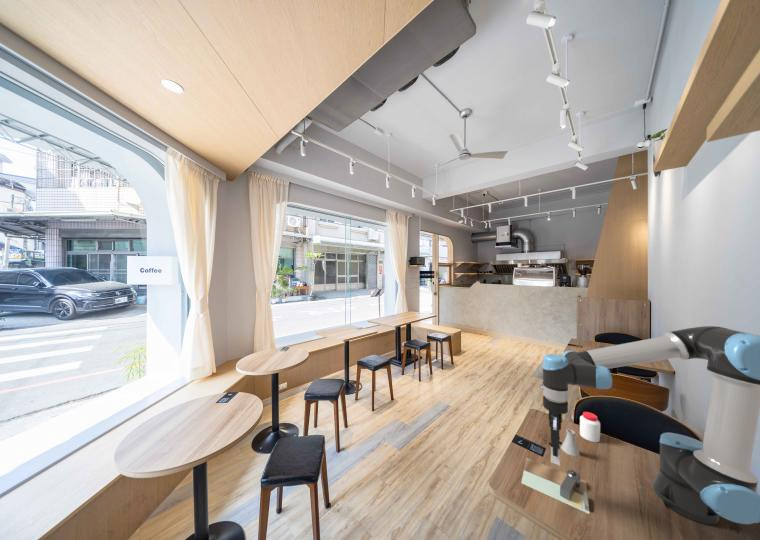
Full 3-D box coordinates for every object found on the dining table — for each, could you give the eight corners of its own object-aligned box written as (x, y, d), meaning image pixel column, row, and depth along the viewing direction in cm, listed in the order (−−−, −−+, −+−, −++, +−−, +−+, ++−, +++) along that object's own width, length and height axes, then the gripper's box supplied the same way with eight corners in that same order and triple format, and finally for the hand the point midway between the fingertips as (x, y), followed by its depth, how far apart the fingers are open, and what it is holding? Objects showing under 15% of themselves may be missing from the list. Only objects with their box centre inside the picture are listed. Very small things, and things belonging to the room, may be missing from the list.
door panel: (587, 500, 90) (587, 492, 90) (589, 517, 84) (589, 509, 84) (523, 472, 102) (523, 466, 102) (521, 486, 95) (521, 478, 95)
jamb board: (585, 484, 97) (586, 481, 97) (587, 499, 90) (587, 496, 90) (526, 460, 108) (526, 457, 108) (523, 472, 102) (523, 469, 102)
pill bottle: (581, 429, 130) (582, 408, 130) (601, 437, 124) (601, 415, 124) (577, 436, 125) (578, 414, 125) (598, 444, 119) (598, 421, 119)
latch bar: (568, 476, 99) (568, 466, 99) (581, 483, 96) (581, 472, 95) (557, 493, 91) (558, 482, 91) (571, 502, 88) (571, 490, 88)
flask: (584, 460, 109) (584, 437, 109) (565, 458, 110) (565, 435, 110) (574, 449, 116) (575, 427, 116) (557, 446, 117) (557, 425, 117)
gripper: (544, 388, 99) (544, 448, 99) (541, 402, 89) (542, 469, 89) (567, 394, 95) (567, 456, 95) (568, 409, 84) (568, 479, 84)
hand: (555, 462), depth 92 cm, fingers closed
